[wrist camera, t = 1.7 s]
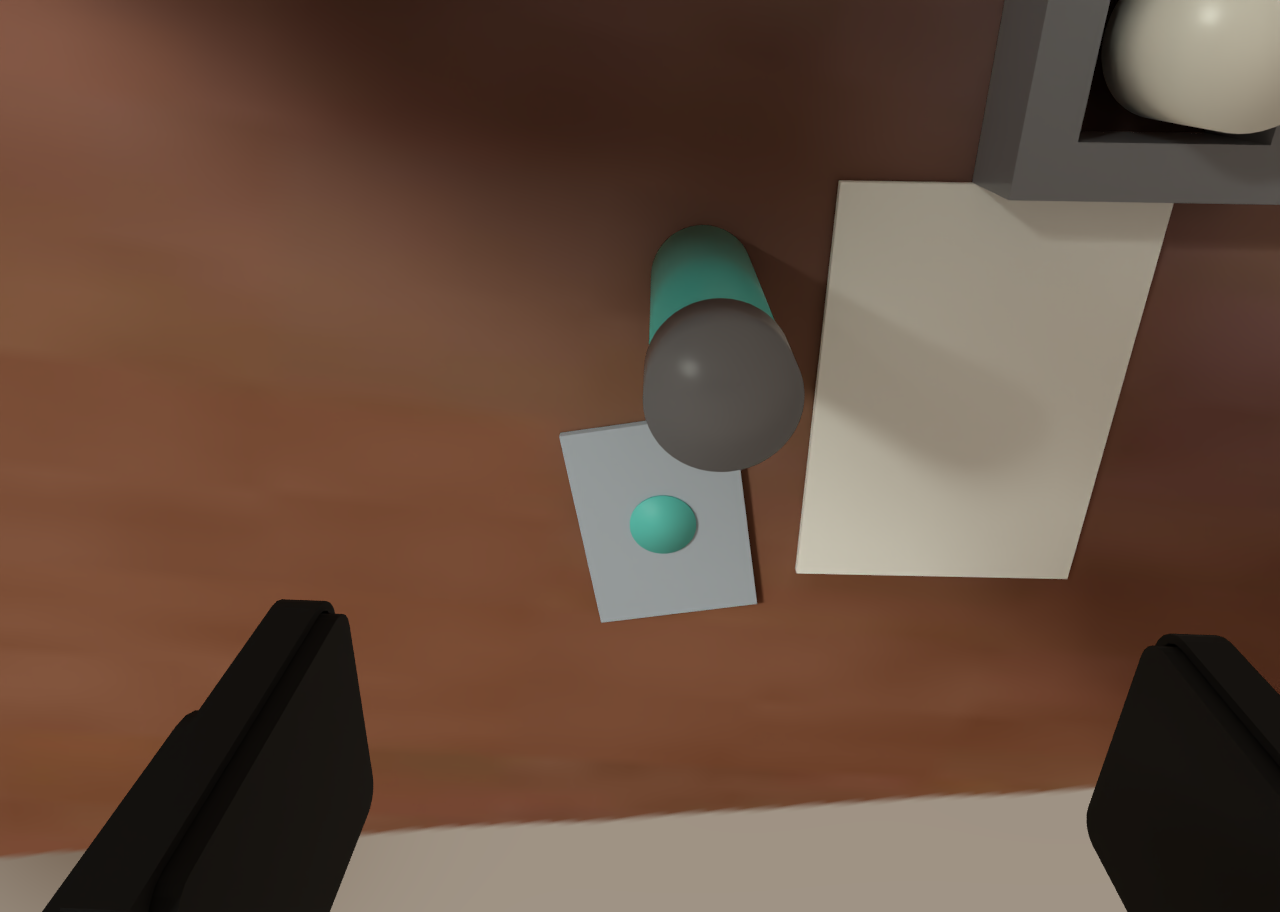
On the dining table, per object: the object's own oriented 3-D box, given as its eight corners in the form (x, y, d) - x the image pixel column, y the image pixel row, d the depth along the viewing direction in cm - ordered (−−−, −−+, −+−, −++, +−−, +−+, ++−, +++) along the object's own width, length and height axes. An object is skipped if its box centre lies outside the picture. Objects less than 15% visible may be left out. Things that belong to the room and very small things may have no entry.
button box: (1029, -138, 22) (1080, -161, 20) (1340, -134, 22) (1435, -157, 19) (972, 182, 26) (1008, 200, 23) (1240, 186, 26) (1307, 205, 23)
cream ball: (1124, -54, 21) (1204, -68, 18) (1286, -52, 21) (1394, -66, 18) (1084, 118, 23) (1151, 132, 20) (1234, 120, 23) (1324, 135, 20)
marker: (649, 220, 26) (643, 321, 17) (758, 222, 26) (812, 324, 17) (647, 326, 28) (641, 470, 19) (751, 328, 28) (796, 473, 19)
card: (560, 432, 30) (558, 437, 29) (732, 408, 29) (733, 413, 29) (601, 617, 33) (601, 624, 33) (756, 599, 33) (757, 605, 32)
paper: (838, 180, 26) (840, 181, 26) (1172, 185, 26) (1178, 187, 25) (795, 568, 32) (796, 573, 32) (1063, 574, 32) (1067, 579, 32)
